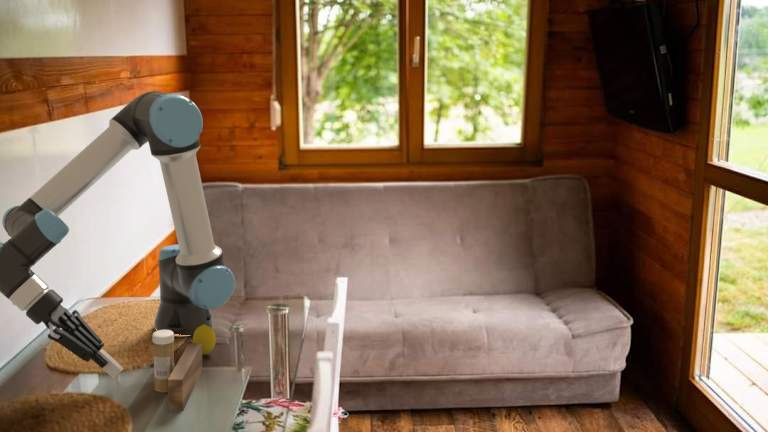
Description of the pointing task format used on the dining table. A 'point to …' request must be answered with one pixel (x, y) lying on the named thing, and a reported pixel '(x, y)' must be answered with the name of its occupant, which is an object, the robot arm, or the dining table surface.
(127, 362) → the dining table surface
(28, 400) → the dining table surface
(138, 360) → the dining table surface
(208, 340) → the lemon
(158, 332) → the sprinkles bottle
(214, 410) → the dining table surface
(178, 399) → the walnut board
